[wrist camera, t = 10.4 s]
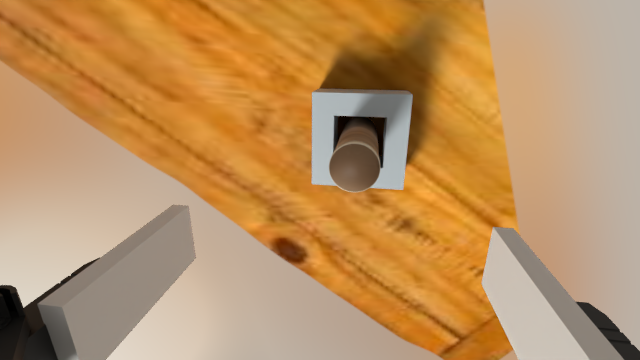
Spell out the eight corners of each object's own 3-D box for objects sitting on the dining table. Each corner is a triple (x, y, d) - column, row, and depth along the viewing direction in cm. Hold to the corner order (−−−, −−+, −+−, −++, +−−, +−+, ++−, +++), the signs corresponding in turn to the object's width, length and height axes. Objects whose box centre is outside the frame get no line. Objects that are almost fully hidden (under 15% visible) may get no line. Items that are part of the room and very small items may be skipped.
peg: (343, 115, 39) (329, 141, 26) (378, 116, 38) (382, 144, 25) (342, 148, 40) (328, 190, 27) (376, 150, 40) (378, 193, 27)
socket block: (319, 88, 38) (312, 92, 34) (407, 90, 37) (412, 94, 32) (318, 170, 42) (311, 184, 37) (399, 175, 40) (403, 189, 36)
